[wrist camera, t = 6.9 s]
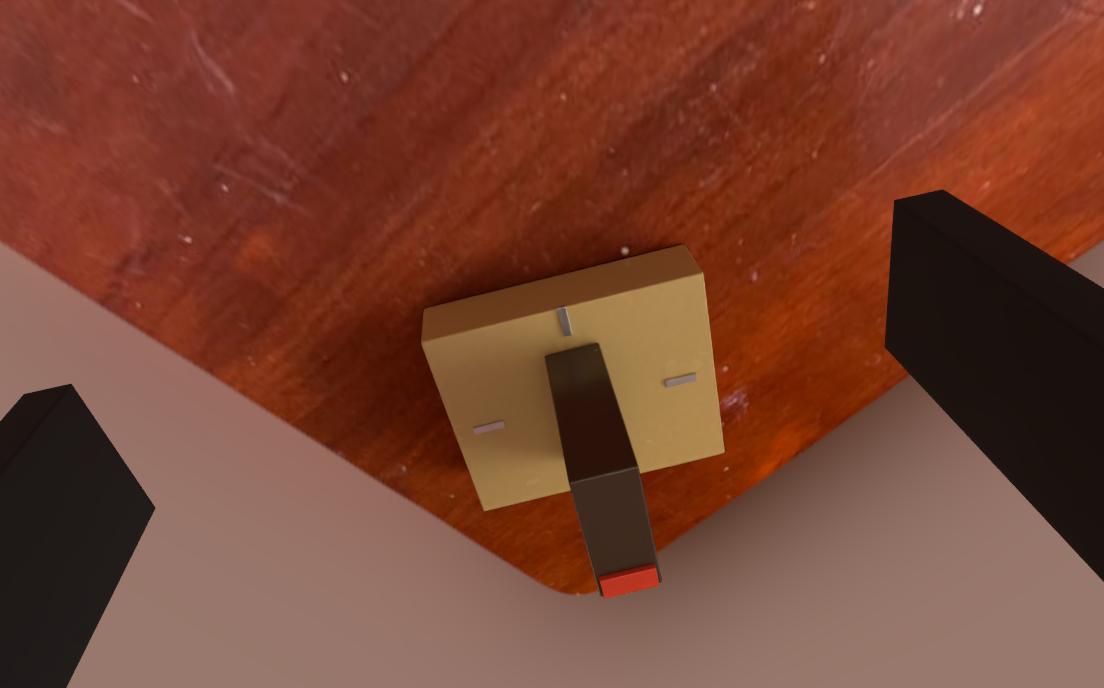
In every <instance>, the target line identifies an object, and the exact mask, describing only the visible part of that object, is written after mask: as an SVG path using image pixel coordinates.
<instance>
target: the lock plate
mask: <svg viewBox="0 0 1104 688" xmlns="http://www.w3.org/2000/svg"><path fill="white" fill-rule="evenodd" d="M594 343H599V344H600V347H601V350H602V354H603V357H604V360H605V363H606V366H607V369H608V372H609V375H610V378H611V382H612V385H613V388H614V391H615V394H616V397H617V400H618V403H619V407H620V410H621V413H622V416H623V419H624V422H625V425H626V428H627V432H628V435H629V438H630V441H631V444H632V447H633V450H634V453H635V456H636V460H637V463H638V466H639V470H640V473H644V472H648V471H653V470H657V469H661V468H665V467H669V466H673V465H677V464H681V463H686V462H690V461H694V460H698V459H702V458H706V457H710V456H714V455H719V454H723V453H724V444H723V435H722V427H721V418H720V410H719V401H718V393H717V384H716V376H715V367H714V359H713V350H712V342H711V333H710V325H709V316H708V308H707V299H706V291H705V282H704V274H703V272H702V271H701V269H700V268H699V266H698V265H697V263H696V261H695V260H694V258H693V257H692V255H691V254H690V252H689V251H688V249H687V248H686V246H685V245H679V246H675V247H671V248H667V249H663V250H659V251H655V252H650V253H646V254H642V255H638V256H634V257H630V258H626V259H622V260H618V261H614V262H610V263H606V264H602V265H598V266H594V267H590V268H586V269H582V270H578V271H574V272H570V273H566V274H562V275H558V276H554V277H550V278H546V279H542V280H538V281H534V282H530V283H526V284H522V285H518V286H514V287H509V288H505V289H501V290H497V291H493V292H489V293H485V294H481V295H477V296H473V297H469V298H465V299H461V300H457V301H453V302H449V303H445V304H441V305H437V306H433V307H429V308H425V309H424V311H423V324H422V337H421V345H422V348H423V350H424V353H425V356H426V358H427V361H428V364H429V366H430V369H431V372H432V374H433V377H434V380H435V382H436V385H437V388H438V390H439V393H440V396H441V398H442V401H443V404H444V406H445V409H446V412H447V414H448V417H449V420H450V422H451V425H452V428H453V430H454V433H455V436H456V438H457V441H458V444H459V446H460V449H461V452H462V454H463V457H464V460H465V462H466V465H467V468H468V470H469V473H470V476H471V478H472V481H473V484H474V486H475V489H476V492H477V494H478V497H479V500H480V502H481V505H482V508H483V510H484V511H488V510H492V509H496V508H500V507H504V506H508V505H512V504H516V503H521V502H525V501H529V500H533V499H537V498H541V497H545V496H549V495H554V494H558V493H562V492H566V491H570V486H569V482H568V477H567V472H566V467H565V462H564V456H563V451H562V446H561V441H560V436H559V430H558V425H557V420H556V415H555V410H554V404H553V399H552V394H551V389H550V384H549V378H548V373H547V368H546V363H545V356H546V355H550V354H554V353H558V352H562V351H566V350H570V349H574V348H578V347H582V346H586V345H590V344H594Z"/></svg>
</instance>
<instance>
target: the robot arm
mask: <svg viewBox="0 0 1104 688" xmlns="http://www.w3.org/2000/svg"><path fill="white" fill-rule="evenodd" d="M885 348H886V349H887V350H888V351H889V352H890V353H891V354H892V355H893V356H894V358H895V359H896V360H897V361H898V362H899V363H900V364H901V365H902V366H903V367H904V368H905V369H906V370H907V371H908V373H909V374H910V375H911V376H912V377H913V378H914V379H915V380H916V381H917V382H918V383H919V384H920V385H921V387H922V388H923V389H924V390H925V391H926V392H927V393H928V394H929V395H930V396H931V397H932V398H933V399H934V400H935V401H936V403H938V405H939V406H940V407H941V408H942V409H943V410H944V411H945V412H946V413H947V414H948V415H949V417H950V418H951V419H952V420H953V421H954V422H955V423H956V424H957V425H958V426H959V427H960V428H961V429H962V430H963V431H964V432H965V434H966V435H967V436H968V437H969V438H970V439H971V440H972V441H973V442H974V443H975V444H976V445H977V446H978V447H979V449H980V450H981V451H982V452H983V453H984V454H985V455H986V456H987V457H988V458H989V459H990V460H991V462H992V463H993V464H994V465H995V466H996V467H997V468H998V469H999V470H1000V471H1001V472H1002V473H1003V474H1004V475H1005V477H1007V479H1008V480H1009V481H1010V482H1011V483H1012V484H1013V485H1014V486H1015V487H1016V488H1017V489H1018V490H1019V491H1020V493H1021V494H1022V495H1023V496H1024V497H1025V498H1026V499H1027V500H1028V501H1029V502H1030V503H1031V504H1032V505H1033V507H1034V508H1035V509H1036V510H1037V511H1038V512H1039V513H1040V514H1041V515H1042V516H1043V517H1044V518H1045V519H1046V520H1047V522H1048V523H1049V524H1050V525H1051V526H1052V527H1053V528H1054V529H1055V530H1056V531H1057V532H1058V533H1059V534H1060V535H1061V536H1062V537H1063V539H1064V540H1065V541H1066V542H1067V543H1068V544H1069V545H1070V546H1071V547H1072V548H1073V549H1074V550H1075V552H1076V553H1077V554H1078V555H1079V556H1080V557H1081V558H1082V559H1083V560H1084V561H1085V562H1086V563H1087V564H1088V565H1089V567H1090V568H1091V569H1092V570H1093V571H1094V572H1095V573H1096V574H1097V575H1098V576H1099V577H1100V578H1101V579H1102V580H1103V581H1104V288H1102V287H1101V286H1099V285H1097V284H1095V283H1094V282H1093V281H1091V280H1089V279H1088V278H1086V277H1084V276H1083V275H1081V274H1079V273H1078V272H1076V271H1075V270H1073V269H1071V268H1070V267H1068V266H1067V265H1065V264H1063V263H1062V262H1060V261H1058V260H1057V259H1055V258H1054V257H1052V256H1050V255H1049V254H1047V253H1045V252H1044V251H1042V250H1041V249H1039V248H1037V247H1036V246H1034V245H1032V244H1031V243H1029V242H1028V241H1026V240H1024V239H1023V238H1021V237H1019V236H1018V235H1016V234H1015V233H1013V232H1011V231H1010V230H1008V229H1006V228H1005V227H1003V226H1002V225H1000V224H998V223H997V222H995V221H993V220H992V219H990V218H989V217H987V216H985V215H984V214H982V213H980V212H979V211H977V210H976V209H974V208H972V207H971V206H969V205H967V204H966V203H964V202H963V201H961V200H959V199H958V198H956V197H954V196H953V195H951V194H950V193H948V192H946V191H945V190H938V191H934V192H929V193H925V194H920V195H916V196H911V197H907V198H902V199H898V200H894V212H893V227H892V242H891V258H890V273H889V289H888V304H887V320H886V335H885ZM154 510H155V506H154V505H153V504H152V502H151V500H150V499H149V498H148V496H147V495H146V493H145V492H144V490H143V489H142V487H141V486H140V484H139V483H138V482H137V480H136V478H135V477H134V475H133V474H132V473H131V471H130V470H129V468H128V467H127V465H126V464H125V462H124V461H123V459H122V458H121V456H120V455H119V453H118V452H117V450H116V449H115V447H114V446H113V444H112V443H111V441H110V440H109V439H108V437H107V436H106V434H105V433H104V431H103V430H102V428H101V427H100V425H99V424H98V422H97V421H96V419H95V418H94V416H93V415H92V413H91V412H90V411H89V409H88V408H87V406H86V405H85V403H84V402H83V400H82V399H81V397H80V396H79V395H78V393H77V391H76V390H75V389H74V387H73V385H72V384H68V385H63V386H59V387H54V388H50V389H45V390H41V391H36V392H32V393H27V394H24V395H23V396H22V397H21V398H20V399H19V400H18V402H17V403H16V404H15V405H14V406H13V408H12V409H11V410H10V411H9V412H8V413H7V414H6V415H5V417H4V418H3V419H2V420H1V421H0V688H66V687H67V685H68V683H69V681H70V679H71V677H72V675H73V673H74V671H75V669H76V667H77V665H78V663H79V661H80V659H81V657H82V655H83V653H84V651H85V649H86V647H87V645H88V643H89V641H90V639H91V637H92V635H93V633H94V631H95V629H96V627H97V625H98V623H99V621H100V619H101V617H102V615H103V613H104V611H105V609H106V607H107V605H108V603H109V601H110V599H111V597H112V595H113V593H114V591H115V588H116V587H117V584H118V582H119V580H120V578H121V576H122V574H123V572H124V570H125V568H126V566H127V564H128V562H129V560H130V558H131V556H132V554H133V552H134V550H135V548H136V546H137V544H138V542H139V540H140V538H141V536H142V534H143V532H144V530H145V528H146V526H147V524H148V522H149V520H150V518H151V516H152V514H153V512H154Z"/></svg>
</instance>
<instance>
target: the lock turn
mask: <svg viewBox="0 0 1104 688" xmlns="http://www.w3.org/2000/svg"><path fill="white" fill-rule="evenodd" d="M545 363H546V368H547V373H548V378H549V384H550V389H551V394H552V399H553V404H554V410H555V415H556V420H557V425H558V430H559V436H560V441H561V446H562V451H563V456H564V462H565V467H566V472H567V477H568V482H569V486H570V490H571V493H572V497H573V501H574V504H575V508H576V511H577V515H578V519H579V522H580V526H581V529H582V533H583V537H584V540H585V544H586V547H587V551H588V554H589V558H590V562H591V565H592V569H593V572H594V576H595V580H596V583H597V587H598V590H599V594H600V596H601V597H603V596H604V598H610V597H614V596H618V595H622V594H626V593H630V592H635V591H639V590H643V589H647V588H651V587H656V586H659V583H661V582H662V578H661V573H660V568H659V564H658V558H657V554H656V549H655V544H654V539H653V534H652V529H651V524H650V519H649V514H648V510H647V505H646V500H645V495H644V490H643V485H642V480H641V475H640V470H639V466H638V463H637V460H636V456H635V453H634V450H633V447H632V444H631V441H630V438H629V435H628V432H627V428H626V425H625V422H624V419H623V416H622V413H621V410H620V407H619V403H618V400H617V397H616V394H615V391H614V388H613V385H612V382H611V378H610V375H609V372H608V369H607V366H606V363H605V360H604V357H603V354H602V350H601V347H600V344H599V343H594V344H590V345H586V346H582V347H578V348H574V349H570V350H566V351H562V352H558V353H554V354H550V355H546V356H545Z"/></svg>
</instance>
